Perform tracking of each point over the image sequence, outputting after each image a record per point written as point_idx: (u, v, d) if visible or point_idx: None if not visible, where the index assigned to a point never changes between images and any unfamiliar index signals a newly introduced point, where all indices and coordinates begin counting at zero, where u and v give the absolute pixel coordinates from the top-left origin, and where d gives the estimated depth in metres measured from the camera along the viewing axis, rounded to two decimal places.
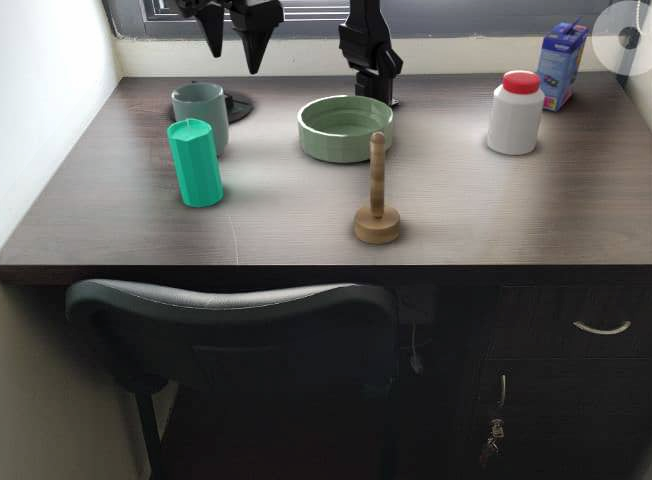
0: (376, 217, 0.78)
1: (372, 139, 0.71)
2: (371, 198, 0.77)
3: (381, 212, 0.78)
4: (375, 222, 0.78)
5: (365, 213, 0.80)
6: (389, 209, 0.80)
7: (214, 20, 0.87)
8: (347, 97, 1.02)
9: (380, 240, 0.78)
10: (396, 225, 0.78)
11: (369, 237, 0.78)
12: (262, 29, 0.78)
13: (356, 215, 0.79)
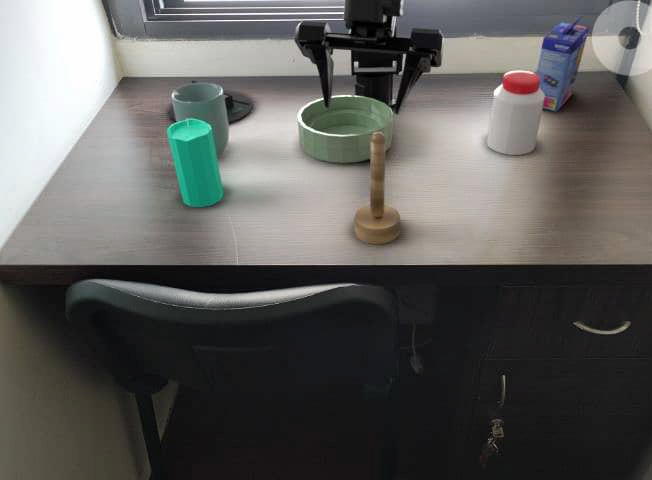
0: (376, 217, 0.78)
1: (372, 139, 0.71)
2: (371, 198, 0.77)
3: (381, 212, 0.78)
4: (375, 222, 0.78)
5: (365, 213, 0.80)
6: (389, 209, 0.80)
7: (330, 70, 0.79)
8: (347, 97, 1.02)
9: (380, 240, 0.78)
10: (396, 225, 0.78)
11: (369, 237, 0.78)
12: (430, 63, 0.77)
13: (356, 215, 0.79)
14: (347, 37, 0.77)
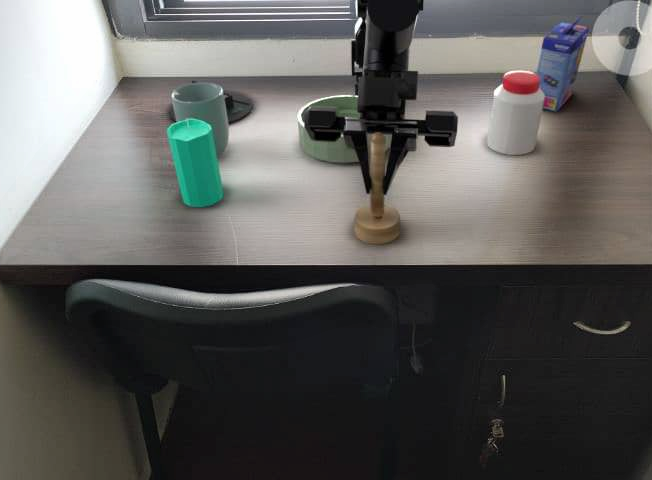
0: (376, 217, 0.78)
1: (372, 139, 0.71)
2: (371, 198, 0.77)
3: (381, 212, 0.78)
4: (375, 222, 0.78)
5: (365, 213, 0.80)
6: (389, 209, 0.80)
7: None
8: (347, 97, 1.02)
9: (380, 240, 0.78)
10: (396, 225, 0.78)
11: (369, 237, 0.78)
12: None
13: (356, 215, 0.79)
14: (387, 122, 0.74)
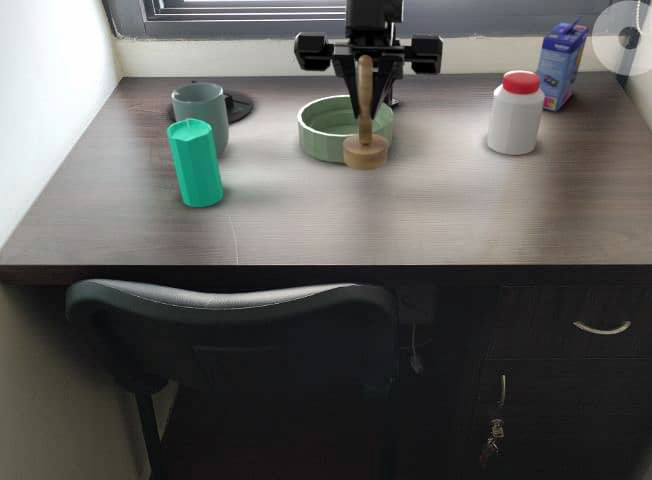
0: (364, 144, 0.81)
1: (359, 61, 0.74)
2: (359, 124, 0.79)
3: (369, 138, 0.80)
4: (363, 148, 0.80)
5: (354, 141, 0.82)
6: (377, 137, 0.82)
7: (357, 81, 0.78)
8: (347, 97, 1.02)
9: (368, 166, 0.80)
10: (384, 151, 0.80)
11: (357, 163, 0.80)
12: (402, 68, 0.77)
13: (345, 142, 0.81)
14: (374, 47, 0.76)
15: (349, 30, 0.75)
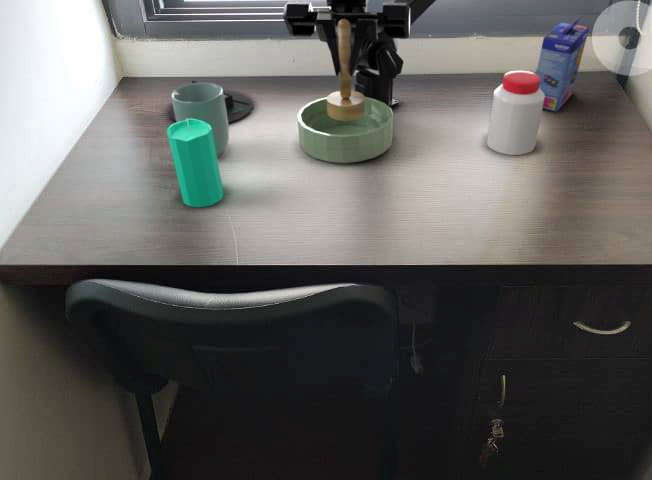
0: (345, 98, 0.94)
1: (339, 24, 0.87)
2: (340, 80, 0.92)
3: (349, 93, 0.93)
4: (344, 101, 0.93)
5: (336, 96, 0.95)
6: (356, 93, 0.96)
7: (337, 44, 0.92)
8: None
9: (348, 116, 0.93)
10: (361, 104, 0.93)
11: (339, 114, 0.93)
12: (376, 31, 0.90)
13: (328, 97, 0.95)
14: (352, 13, 0.89)
15: None
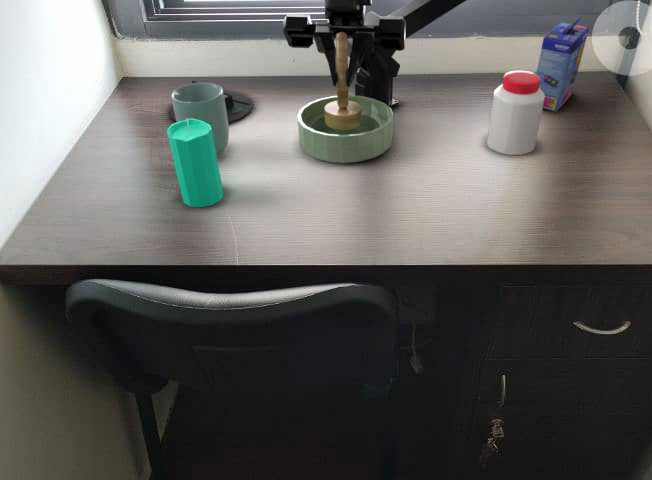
0: (342, 108, 0.97)
1: (337, 37, 0.90)
2: (337, 91, 0.95)
3: (346, 103, 0.96)
4: (341, 111, 0.96)
5: (333, 106, 0.98)
6: (353, 103, 0.99)
7: (335, 55, 0.95)
8: None
9: (345, 126, 0.96)
10: (358, 114, 0.96)
11: (336, 123, 0.96)
12: (373, 44, 0.93)
13: (326, 107, 0.98)
14: (349, 26, 0.92)
15: (328, 12, 0.91)
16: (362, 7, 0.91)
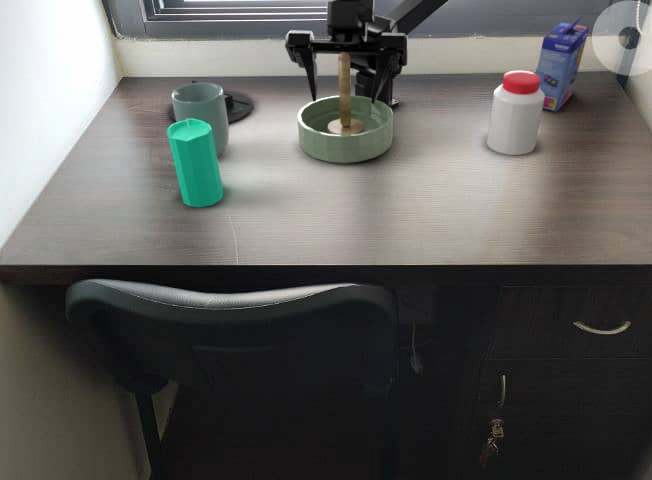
0: (345, 126, 0.97)
1: (339, 57, 0.90)
2: (340, 109, 0.96)
3: (349, 122, 0.97)
4: (344, 129, 0.97)
5: (336, 124, 0.98)
6: (356, 121, 0.99)
7: (315, 71, 0.95)
8: None
9: None
10: (361, 132, 0.97)
11: None
12: (398, 60, 0.93)
13: (329, 125, 0.98)
14: (329, 42, 0.93)
15: (330, 28, 0.91)
16: (364, 24, 0.91)
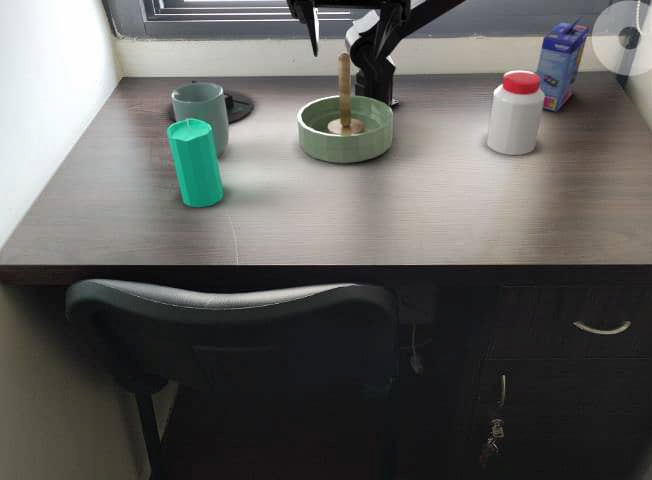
0: (345, 126, 0.97)
1: (339, 57, 0.90)
2: (340, 109, 0.96)
3: (349, 122, 0.97)
4: (344, 129, 0.97)
5: (336, 124, 0.98)
6: (356, 121, 0.99)
7: (316, 25, 0.93)
8: None
9: None
10: (361, 132, 0.97)
11: None
12: (400, 14, 0.91)
13: (329, 125, 0.98)
14: None
15: None
16: None
